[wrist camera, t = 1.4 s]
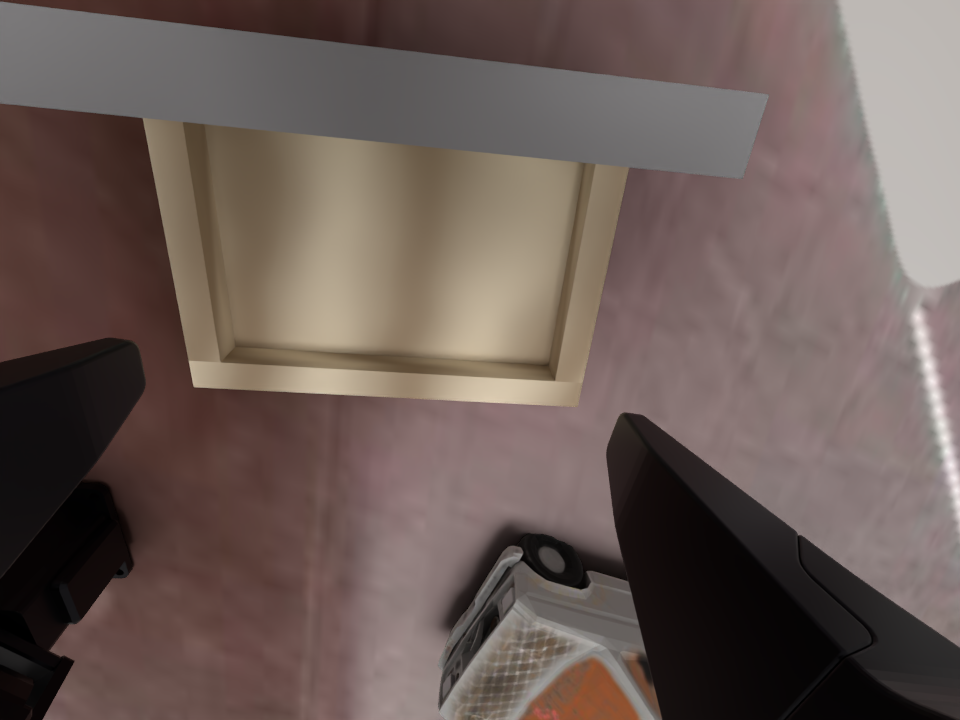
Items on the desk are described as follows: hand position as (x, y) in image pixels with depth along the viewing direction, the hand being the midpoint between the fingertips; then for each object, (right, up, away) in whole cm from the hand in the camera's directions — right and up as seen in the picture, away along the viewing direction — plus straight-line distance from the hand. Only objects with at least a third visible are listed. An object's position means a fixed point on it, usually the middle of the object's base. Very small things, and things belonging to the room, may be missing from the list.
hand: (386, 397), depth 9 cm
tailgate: (-1, +10, +8) cm, 12 cm away
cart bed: (-2, +5, +12) cm, 13 cm away
